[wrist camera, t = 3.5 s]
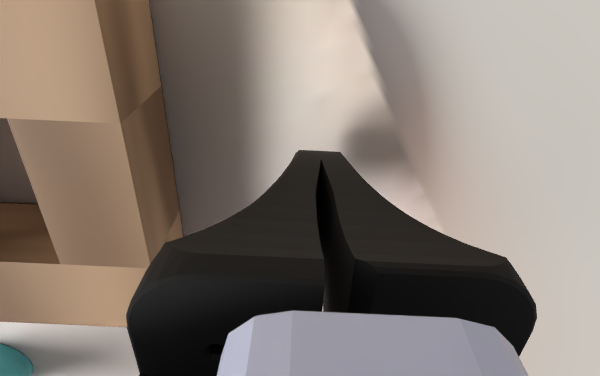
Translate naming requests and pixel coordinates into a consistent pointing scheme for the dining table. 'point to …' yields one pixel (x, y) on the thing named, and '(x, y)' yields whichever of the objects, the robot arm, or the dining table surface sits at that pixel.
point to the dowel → (14, 362)
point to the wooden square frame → (83, 159)
